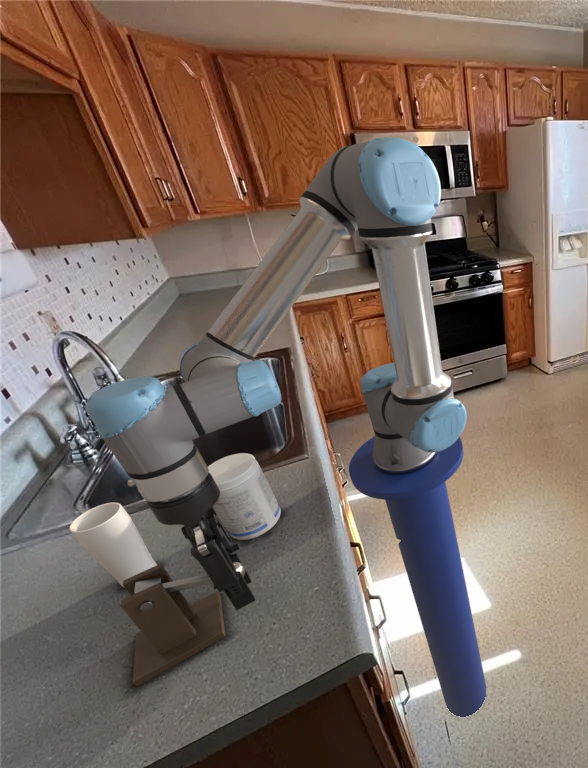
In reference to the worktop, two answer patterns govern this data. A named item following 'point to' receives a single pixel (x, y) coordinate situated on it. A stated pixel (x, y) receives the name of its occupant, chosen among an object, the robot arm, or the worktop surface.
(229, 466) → the supplement tub
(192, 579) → the tap lever
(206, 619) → the bracket
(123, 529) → the white tapered cylinder
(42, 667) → the worktop surface
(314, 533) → the worktop surface
